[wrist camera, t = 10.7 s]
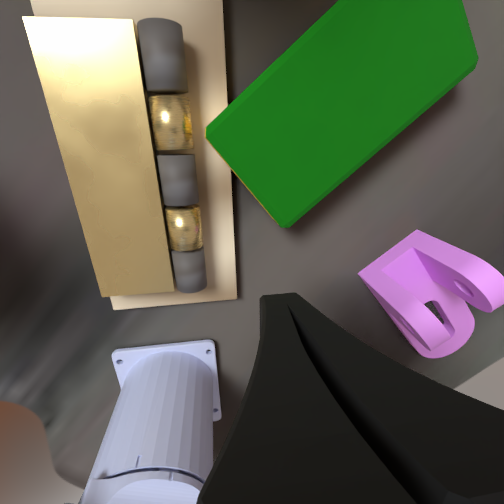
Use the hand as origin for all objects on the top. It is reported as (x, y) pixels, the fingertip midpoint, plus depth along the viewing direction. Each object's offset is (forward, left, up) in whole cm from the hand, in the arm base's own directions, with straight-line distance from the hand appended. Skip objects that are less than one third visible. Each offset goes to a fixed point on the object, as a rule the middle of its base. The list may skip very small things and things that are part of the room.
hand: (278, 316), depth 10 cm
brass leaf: (+4, +6, -9) cm, 12 cm away
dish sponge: (+8, -5, -10) cm, 14 cm away
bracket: (-7, -15, -10) cm, 20 cm away
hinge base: (+4, +5, -10) cm, 12 cm away
